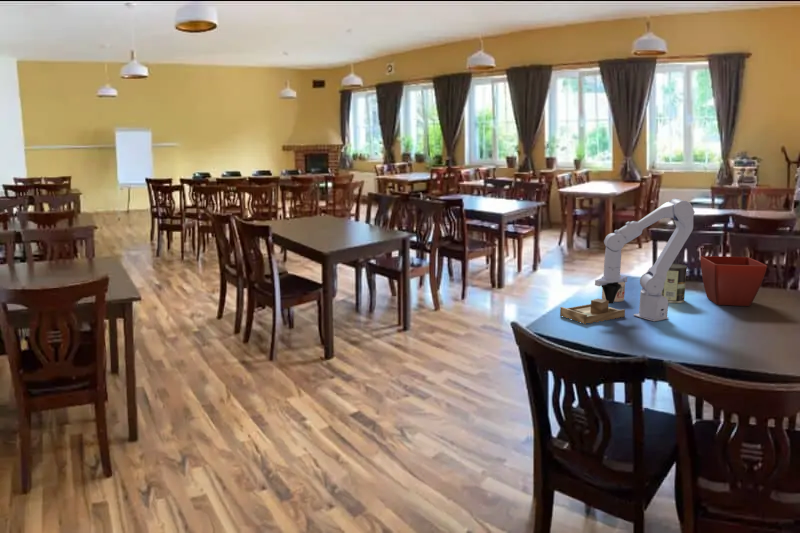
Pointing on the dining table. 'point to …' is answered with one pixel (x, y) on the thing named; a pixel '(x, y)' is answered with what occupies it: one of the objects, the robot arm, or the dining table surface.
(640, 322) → the dining table surface
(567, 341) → the dining table surface
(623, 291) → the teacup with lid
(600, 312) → the walnut block
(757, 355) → the dining table surface
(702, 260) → the plant pot
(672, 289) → the coffee can
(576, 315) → the board
